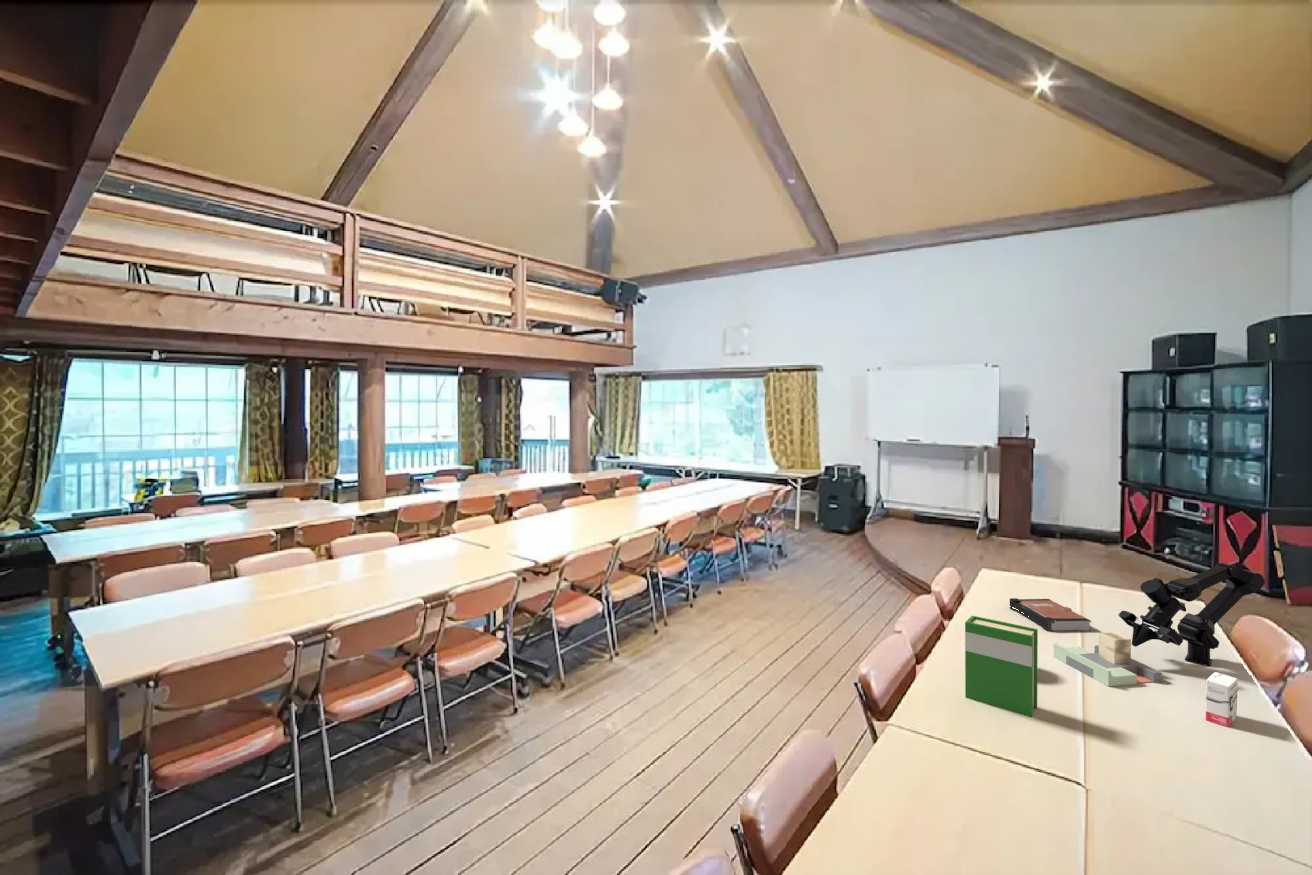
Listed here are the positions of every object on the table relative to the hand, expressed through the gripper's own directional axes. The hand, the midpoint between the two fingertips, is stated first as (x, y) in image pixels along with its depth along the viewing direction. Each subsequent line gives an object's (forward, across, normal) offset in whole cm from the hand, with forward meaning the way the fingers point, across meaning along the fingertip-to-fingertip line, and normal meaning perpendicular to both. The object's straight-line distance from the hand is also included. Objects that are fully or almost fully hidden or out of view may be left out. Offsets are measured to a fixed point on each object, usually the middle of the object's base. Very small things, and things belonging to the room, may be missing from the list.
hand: (1133, 645), depth 195 cm
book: (+2, +44, -10) cm, 45 cm away
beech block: (+8, 0, +2) cm, 8 cm away
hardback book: (+48, -14, +37) cm, 62 cm away
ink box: (+10, -33, -1) cm, 34 cm away
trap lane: (+13, 0, +2) cm, 13 cm away
